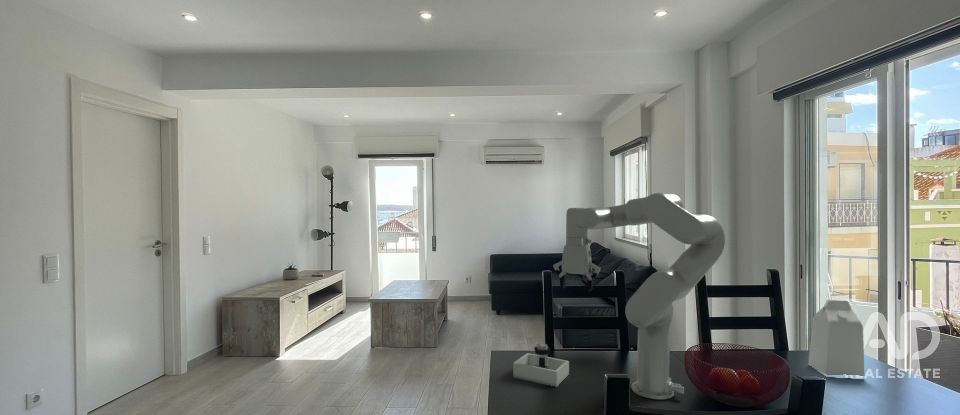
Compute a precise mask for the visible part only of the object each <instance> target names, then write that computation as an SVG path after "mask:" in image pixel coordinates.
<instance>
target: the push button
mask: <svg viewBox="0 0 960 415" xmlns="http://www.w3.org/2000/svg"><path fill="white" fill-rule="evenodd" d="M550 351H551V348H550V347H549V345H548V344H547V343H537V344H536V346H534V353H535V355H537V364H536V365H535V366H536V367H541V368H546V369H549V366H548V364H547V357H548V355H549V354H550ZM539 355H540V357H539Z"/></svg>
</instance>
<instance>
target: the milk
mask: <svg viewBox="0 0 960 415" xmlns="http://www.w3.org/2000/svg"><path fill="white" fill-rule="evenodd" d="M812 318H813V319H812V325H811V333H810V334H811V336H810V337H811V338H810V347H809V356H808V357H809V358H808V365H810V366H812V367H814V368H816V369H817V370H819V371H821V372H823V373H825V374H827V375H843V374H846V375H860V376H866V375H865V373H866V372H865V351H864V350H865V349H864V348H865V347H864V346H865V345H864V327H863V324H862V322H861V320H860V319H859V317H858V316H857V314H856V313H855V312H854V310H853V309H852V306H851V305H850V302H849V301H848V300H847V299H828V298H827V299H826V301H825V303H824V306H822V308H821V309H819V310H818V311H817V312H816V313H815V314H814V315H813V317H812Z"/></svg>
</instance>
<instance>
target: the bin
mask: <svg viewBox="0 0 960 415" xmlns="http://www.w3.org/2000/svg"><path fill="white" fill-rule="evenodd" d="M539 357H540V355H539ZM536 364H537V354H536V353H535V354H534V353H529V352H528V353H525V354H524V355H522V356H521V357H520V358H518V359H517V360H515V361H514V362H513V364H512V366H513V367H512V369H513V370H512V371H513V372H512V374H513V375H512V378H514V379H519V380H523V381H528V382H532V383H537V384H540V385H545V386H549V385H550V387H554V386H555V387H554V388H558V387H559V384H560V383H561V382H562V381H563V380H564V379H565V378H566V377H567V376H568V375H570V361H569V360H565V359H560V358H555V357H549V356H547V364H548V366H549V369H546V368H541V367H536V366H535V365H536ZM568 377H569V376H568ZM568 377H567V378H568ZM567 378H566V379H567ZM566 379H565V380H566ZM565 380H564V381H565ZM564 381H563V382H564ZM561 384H562V383H561ZM561 384H560V385H561Z"/></svg>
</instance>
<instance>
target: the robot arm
mask: <svg viewBox="0 0 960 415" xmlns="http://www.w3.org/2000/svg"><path fill="white" fill-rule="evenodd" d="M683 202H684V201H682V199H681V197H679V195H677V194H674V193H671V192H670V193H669V192H655V193H652V194H649V195H647V196H645V197H637V198H633V199H632V198H631V199H629V200H628V201H627V202H626V203H623V204H619V205H613V206H606V207H588V208H584V207H569V208H568V209H566V213H565V214H566V216H565V218H566V220H565V221H566V224H565V228H566V231H565V233H566V234H565V245H564V246H563V251H562V257H561V260H560V261H558V262H557V263H554V264H553V265H552V267H553V269H554V271H555V273H556V274H557V275H558V277H559V286H560V289H562V290H563V289H565V288H566V284H567V282H566V281H567V280H566V279H567V278H566V275H567V274H575V275H585V276H586V278H587V280H586V292H591V291H592V289H593V288H594V279H596V277H598V276H599V274H600V271H601V267H600V266H598V265H597V264H594V263H592V251H591V247H590V245H589V244H592V239H589V238H588V230H603V229H604V230H605V229H612V228H619V227H626V226H631V227H633V226H640V225H646V224H653V225H656V226H657V227H658V228H659V229H661V230H663V231H664V232H666V233H667V234H668V235H669V236H671V237H672V238H674V239H675V240H677V241H678V242H680V243H682V244H685V245H690V246H689V247H687V248H686V249H685V251H684V252H682V254H681V255H680V256H679V257H678V258H677V259H676V260H675V261H674V263H672V265H671V266H669V267H668V268H665V269H662V270H658V271H655V272H654V273H652V274H651V275H650V276H649V277H647V279H646V280H644V282H642V284H641V285H640V287H639V288H638V289H637V290H636V291H635V292H634V293H633V294H632V295H631V297H630V298H629V299H628V301H627V302H626V305H625V311H624V312H625V317H626V319H627V321H628V322H629V323H630V324H631V325H633V326H634V327H636V328H638V330H637V345H636V346H637V348H636V349H637V353H636V354H637V358H636V361H637V362H636V381H634V382H633V383H632V384H631V390H632V392H633V393H634V394H636V395H638V396H640V397H643V398H647V399H652V400H668V399H671V398H673V397H674V395H675V392H676V393H680V394H685V387H684V386H682V385H681V384H680V383H674V382H673V381H672V378H671V377H670V345H671V327H672V320H673V314H674V307H673V302H676V301H679V300H681V299H683V298H685V297H687V295H688V294H689V293H690V292H691V291H692V290H693V289H694V287H696V285H697V284H698V283H699V282H700V281H701V280H702V279H703V278H704V276H705V275H706V274H707V273H708V272H709V271H710V270H711V268H713V266H714V265H715V264H716V263H717V262H718V260H719V259H720V257H721V255H722V254H723V251H724V249H725V245H726V234H725V231H724V228H723V226H722V225H721V223H720V221H719V220H718V219H716V217H714V216H712V215H709V214H704V213H702V214H701V213H698V214H693V213H691V212H689V211H688V210H686V209H684V204H683ZM560 266H561V270H560V269H559V267H560ZM592 270H594V271H593V273H592Z"/></svg>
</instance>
